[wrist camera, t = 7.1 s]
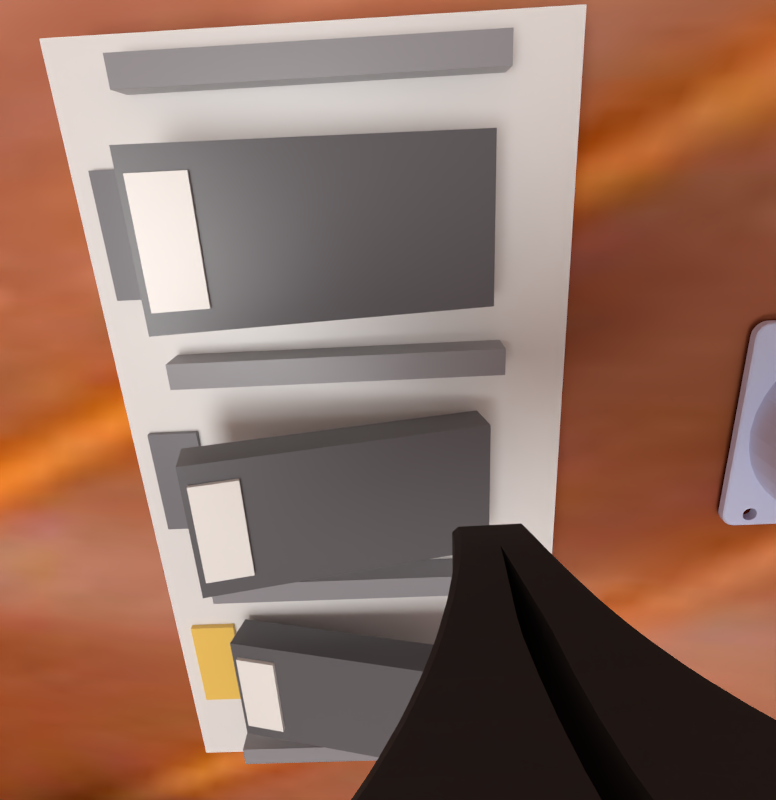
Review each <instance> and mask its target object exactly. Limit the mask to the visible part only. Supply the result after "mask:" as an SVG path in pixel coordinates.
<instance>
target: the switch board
mask: <svg viewBox="0 0 776 800" xmlns="http://www.w3.org/2000/svg"><path fill="white" fill-rule="evenodd" d="M585 20H586V4H584V5H568V6H552V7H536V8H520V9H504V10H488V11H472V12H456V13H440V14H424V15H408V16H392V17H376V18H360V19H344V20H328V21H312V22H296V23H280V24H264V25H248V26H232V27H216V28H200V29H185V30H169V31H153V32H137V33H121V34H105V35H89V36H73V37H57V38H41V39H39V40H40V44H41V48H42V53H43V57H44V61H45V65H46V70H47V74H48V78H49V83H50V87H51V91H52V95H53V100H54V104H55V108H56V112H57V117H58V121H59V125H60V129H61V134H62V138H63V142H64V147H65V151H66V155H67V159H68V164H69V168H70V172H71V176H72V181H73V185H74V189H75V194H76V198H77V202H78V206H79V211H80V215H81V219H82V223H83V228H84V232H85V236H86V240H87V245H88V249H89V253H90V258H91V262H92V266H93V270H94V275H95V279H96V283H97V287H98V292H99V296H100V300H101V305H102V309H103V313H104V317H105V322H106V326H107V330H108V334H109V339H110V343H111V347H112V351H113V356H114V360H115V364H116V369H117V373H118V377H119V381H120V386H121V390H122V394H123V398H124V403H125V407H126V411H127V416H128V420H129V424H130V428H131V433H132V437H133V441H134V445H135V450H136V454H137V458H138V463H139V467H140V471H141V475H142V480H143V484H144V488H145V492H146V497H147V501H148V505H149V509H150V514H151V518H152V522H153V527H154V531H155V535H156V539H157V544H158V548H159V552H160V556H161V561H162V565H163V569H164V574H165V578H166V582H167V586H168V591H169V595H170V599H171V603H172V608H173V612H174V616H175V620H176V625H177V629H178V633H179V638H180V642H181V646H182V650H183V655H184V659H185V663H186V667H187V672H188V676H189V680H190V685H191V689H192V693H193V697H194V702H195V706H196V710H197V714H198V719H199V723H200V727H201V731H202V736H203V740H204V744H205V749H206V753H207V752H243V753H244V758H245V763H246V764H260V763H297V762H334V761H371V760H377V759H378V758H379V757H374V756H368V755H363V754H357V753H352V752H347V751H341V750H336V749H330V748H325V747H319V746H314V745H309V744H303V743H298V742H292V741H287V740H282V739H276V738H271V737H265V736H260V735H254V734H249V733H247V728H246V723H245V718H244V713H243V708H242V703H241V697H240V692H239V687H238V682H237V677H236V672H235V667H234V661H233V656H232V651H231V646H230V642H231V641H232V639H233V638H234V636H235V635H236V633H237V631H238V630H239V628H240V627H241V625H242V624H243V622H244V620H245V619H248V620H255V621H263V622H270V623H277V624H285V625H292V626H300V627H307V628H314V629H322V630H329V631H337V632H344V633H352V634H359V635H366V636H374V637H381V638H389V639H396V640H403V641H411V642H418V643H426V644H433V645H434V642H435V639H436V636H437V633H438V630H439V626H440V623H441V619H442V616H443V613H444V609H445V606H446V602H447V598H448V594H449V588H450V583H451V578H452V573H453V563H452V555H451V556H445V557H439V558H433V559H427V560H422V561H416V562H410V563H404V564H398V565H393V566H387V567H381V568H375V569H370V570H364V571H358V572H352V573H346V574H341V575H335V576H329V577H323V578H318V579H312V580H306V581H300V582H294V583H289V584H283V585H277V586H271V587H266V588H260V589H254V590H248V591H242V592H237V593H231V594H225V595H219V596H214V597H208V598H203V597H202V592H201V587H200V582H199V577H198V573H197V568H196V563H195V558H194V553H193V549H192V544H191V539H190V534H189V529H188V525H187V520H186V515H185V510H184V506H183V501H182V496H181V491H180V486H179V482H178V477H177V472H176V464H177V461H178V458H179V454H180V451H181V449H182V448H190V447H197V446H205V445H213V444H221V443H228V442H236V441H244V440H252V439H259V438H267V437H275V436H283V435H290V434H298V433H306V432H313V431H321V430H329V429H337V428H344V427H352V426H360V425H368V424H375V423H383V422H391V421H399V420H406V419H414V418H422V417H430V416H437V415H445V414H453V413H461V412H468V411H476V410H477V411H478V412H479V413H480V414H481V415H482V416H483V417H484V418H485V419H486V421H487V422H488V423H489V424H490V425H491V442H490V509H489V525H501V524H520V523H521V524H522V525H524V526H525V527H526V528H527V529H528V530H529V531H530V532H531V533H532V534H533V535H534V537H535V538H536V539H537V540H538V541H539V542H540V543H541V544H542V545H543V546H544V547H545V548H546V549H547V550H548V551H549V552H550V553H551V554H552V545H553V530H554V514H555V498H556V482H557V466H558V450H559V434H560V418H561V402H562V386H563V370H564V355H565V339H566V323H567V307H568V291H569V275H570V259H571V243H572V227H573V211H574V195H575V179H576V164H577V148H578V132H579V116H580V100H581V84H582V68H583V52H584V36H585ZM480 128H497V147H496V210H495V273H494V306H492V307H481V308H469V309H458V310H447V311H435V312H424V313H413V314H401V315H390V316H379V317H367V318H356V319H345V320H333V321H322V322H310V323H299V324H288V325H276V326H265V327H254V328H242V329H231V330H220V331H208V332H197V333H186V334H174V335H163V336H152V337H149V334H148V329H147V325H146V320H145V315H144V310H143V305H142V301H141V296H140V291H139V286H138V281H137V277H136V272H135V267H134V262H133V257H132V252H131V248H130V243H129V238H128V233H127V228H126V224H125V219H124V214H123V209H122V204H121V200H120V195H119V190H118V185H117V180H116V176H115V171H114V166H113V161H112V156H111V152H110V147H109V145H120V144H142V143H165V142H187V141H210V140H232V139H255V138H277V137H300V136H323V135H345V134H368V133H390V132H413V131H435V130H458V129H480Z"/></svg>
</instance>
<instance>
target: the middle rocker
mask: <svg viewBox="0 0 776 800" xmlns="http://www.w3.org/2000/svg"><path fill="white" fill-rule="evenodd" d="M490 442H491V425H490V424H489V423H488V422H487V421H486V419H485V418H484V417H483V416H482V415H481V414H480V413H479V412H478V411H477V410H476V411H468V412H461V413H453V414H445V415H437V416H430V417H422V418H414V419H406V420H399V421H391V422H383V423H375V424H368V425H360V426H352V427H344V428H337V429H329V430H321V431H313V432H306V433H298V434H290V435H283V436H275V437H267V438H259V439H252V440H244V441H236V442H228V443H221V444H213V445H205V446H197V447H190V448H182V449H181V451H180V454H179V458H178V461H177V464H176V472H177V477H178V482H179V486H180V491H181V496H182V501H183V506H184V510H185V515H186V520H187V525H188V529H189V534H190V539H191V544H192V549H193V553H194V558H195V563H196V568H197V573H198V577H199V582H200V587H201V592H202V597H203V598H208V597H214V596H219V595H225V594H231V593H237V592H242V591H248V590H254V589H260V588H266V587H271V586H277V585H283V584H289V583H294V582H300V581H306V580H312V579H318V578H323V577H329V576H335V575H341V574H346V573H352V572H358V571H364V570H370V569H375V568H381V567H387V566H393V565H398V564H404V563H410V562H416V561H422V560H427V559H433V558H439V557H445V556H451V555H452V532H453V531H454V530H455V529H456V528H457V527H462V526H481V525H489V509H490Z"/></svg>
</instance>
